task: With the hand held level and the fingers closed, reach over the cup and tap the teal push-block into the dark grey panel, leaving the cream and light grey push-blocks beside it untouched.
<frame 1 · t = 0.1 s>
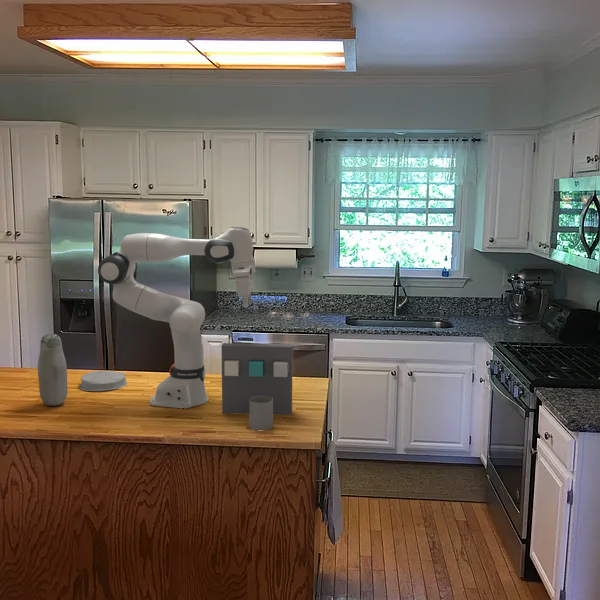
hand: (247, 305, 245), 39 cm above the countertop, tool pointing down, fingers open, 8 cm apart
button panel: (257, 412, 241), on the countertop
cup: (261, 426, 227), on the countertop
grey bottle: (54, 405, 247), on the countertop
food container: (103, 386, 272), on the countertop
light grey push-block: (281, 368, 235), point 18 cm above the countertop, slide at 0.0 cm
cream push-block: (232, 367, 236), point 18 cm above the countertop, slide at 0.0 cm
teal push-block: (256, 367, 236), point 18 cm above the countertop, slide at 0.0 cm
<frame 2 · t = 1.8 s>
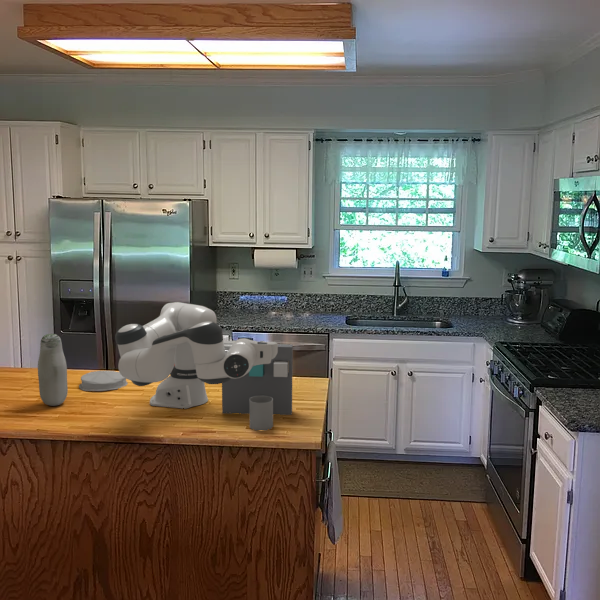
hand: (249, 343, 213), 32 cm above the countertop, tool horizontal, fingers open, 8 cm apart
nothing on the countertop moved.
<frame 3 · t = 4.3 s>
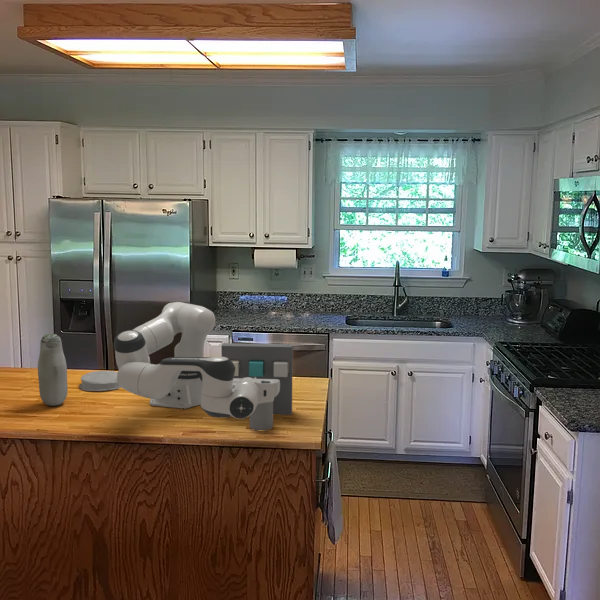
hand: (252, 379, 221), 18 cm above the countertop, tool horizontal, fingers closed
nothing on the countertop moved.
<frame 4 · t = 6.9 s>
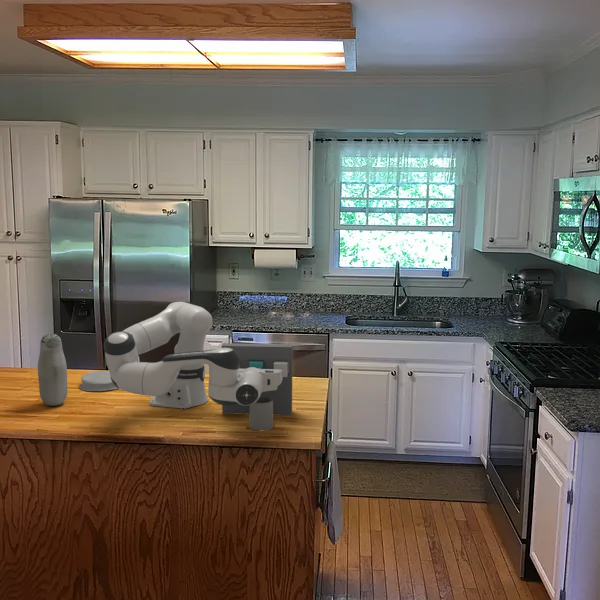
hand: (256, 369, 233), 18 cm above the countertop, tool horizontal, fingers closed, pressing on teal push-block
teal push-block: (256, 366, 236), point 18 cm above the countertop, slide at 0.8 cm, touching gripper
everything else where it was.
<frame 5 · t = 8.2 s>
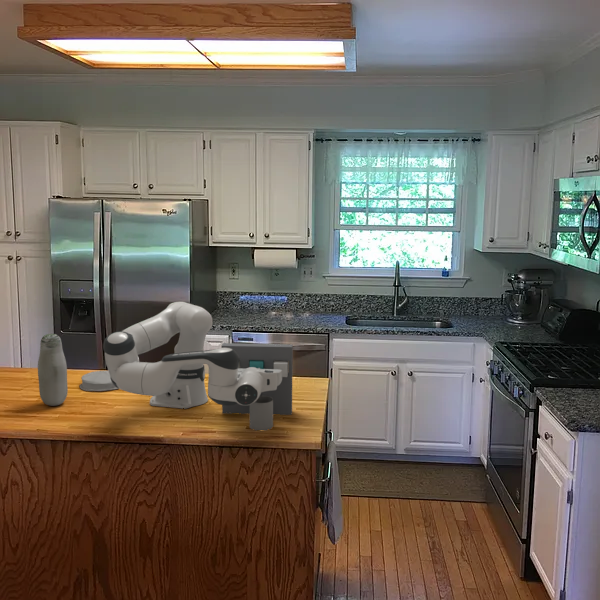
hand: (256, 369, 234), 18 cm above the countertop, tool horizontal, fingers closed
teal push-block: (257, 366, 238), point 18 cm above the countertop, slide at 1.9 cm
everything else where it was.
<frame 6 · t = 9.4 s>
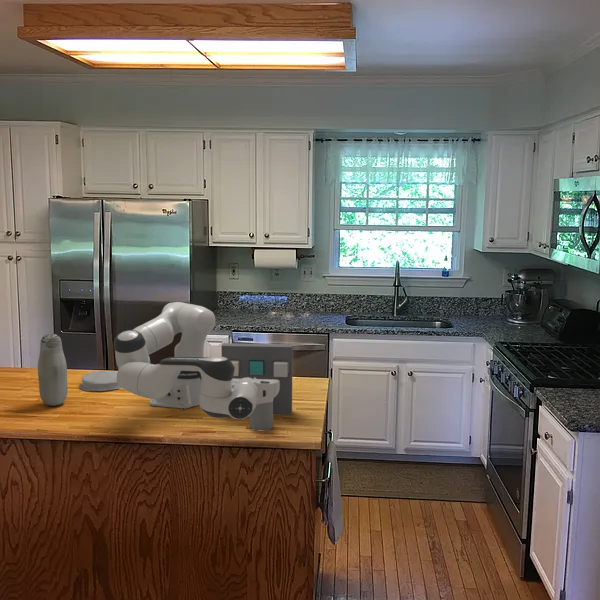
hand: (251, 379, 221), 18 cm above the countertop, tool horizontal, fingers closed
nothing on the countertop moved.
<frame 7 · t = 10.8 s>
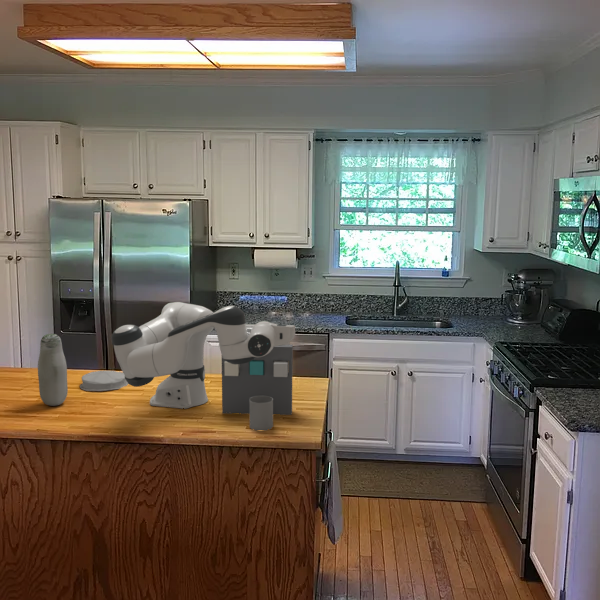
hand: (267, 326, 226), 35 cm above the countertop, tool horizontal, fingers closed
nothing on the countertop moved.
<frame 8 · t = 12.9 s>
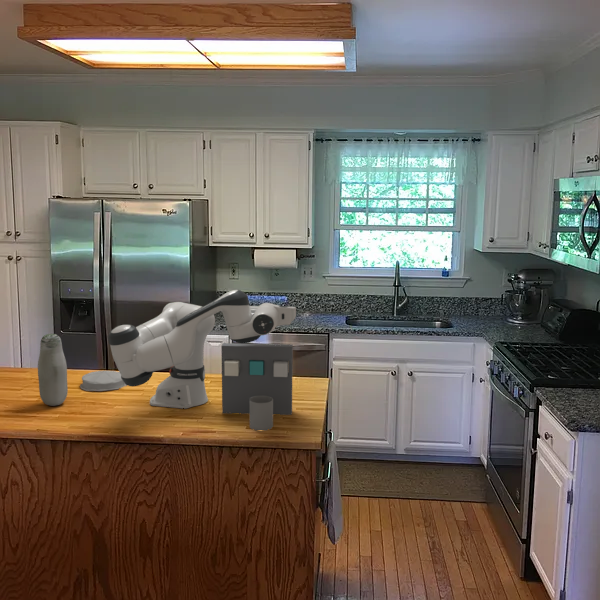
hand: (270, 308, 244), 38 cm above the countertop, tool horizontal, fingers closed
nothing on the countertop moved.
at the end: teal push-block slide at 1.9 cm; cream push-block slide at 0.0 cm; light grey push-block slide at 0.0 cm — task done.
